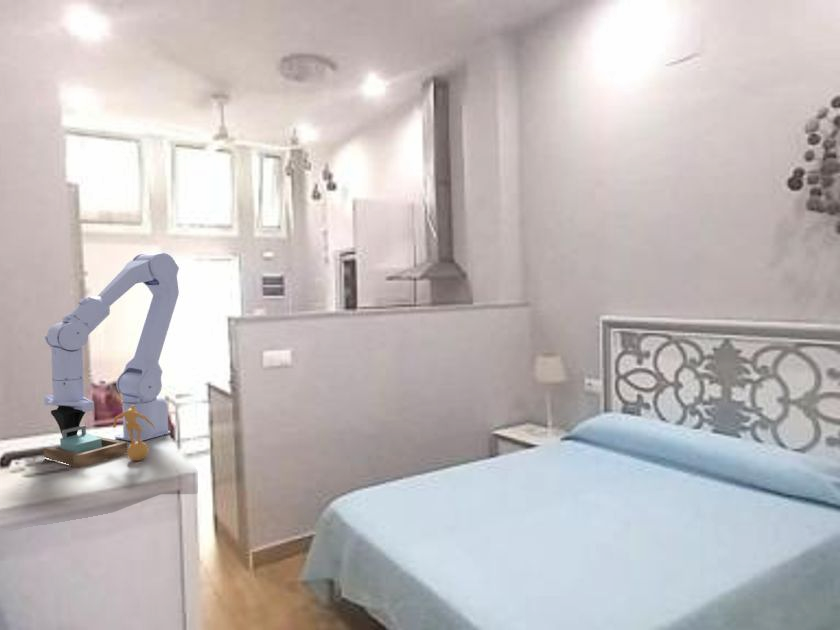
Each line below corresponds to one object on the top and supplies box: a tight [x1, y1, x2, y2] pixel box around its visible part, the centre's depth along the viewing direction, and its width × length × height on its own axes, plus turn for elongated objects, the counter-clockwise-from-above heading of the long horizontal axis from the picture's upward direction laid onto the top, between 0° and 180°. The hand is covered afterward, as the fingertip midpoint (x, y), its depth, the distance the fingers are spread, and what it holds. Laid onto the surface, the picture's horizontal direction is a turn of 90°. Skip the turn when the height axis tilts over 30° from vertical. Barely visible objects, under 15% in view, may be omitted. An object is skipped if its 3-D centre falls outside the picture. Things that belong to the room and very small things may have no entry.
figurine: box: [112, 405, 154, 462], centre depth 118 cm, size 8×6×12 cm
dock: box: [43, 435, 128, 469], centre depth 122 cm, size 11×11×2 cm
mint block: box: [59, 424, 102, 454], centre depth 122 cm, size 5×7×5 cm
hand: (69, 440), depth 125 cm, fingers closed
